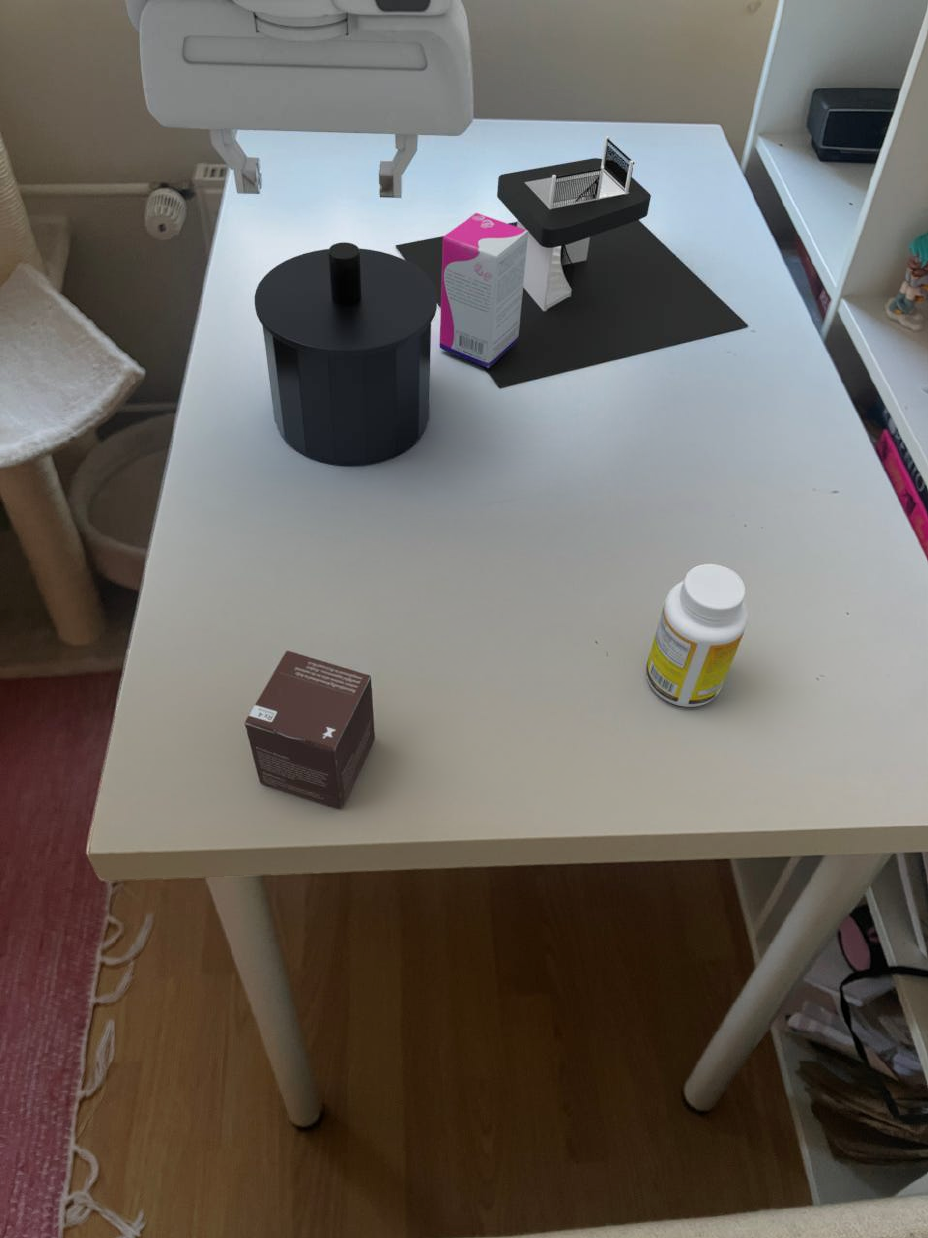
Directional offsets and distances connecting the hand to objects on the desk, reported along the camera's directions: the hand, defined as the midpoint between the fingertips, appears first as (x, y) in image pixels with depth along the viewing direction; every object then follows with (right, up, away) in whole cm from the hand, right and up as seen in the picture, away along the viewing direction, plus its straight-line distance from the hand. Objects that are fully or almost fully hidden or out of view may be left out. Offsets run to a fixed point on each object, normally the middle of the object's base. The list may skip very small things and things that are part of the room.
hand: (320, 191), depth 67 cm
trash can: (0, -10, +23) cm, 25 cm away
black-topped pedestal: (+20, +6, +38) cm, 43 cm away
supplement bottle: (+25, -33, +6) cm, 42 cm away
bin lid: (0, -3, +14) cm, 14 cm away
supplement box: (+11, -2, +30) cm, 32 cm away
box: (0, -38, 0) cm, 38 cm away
